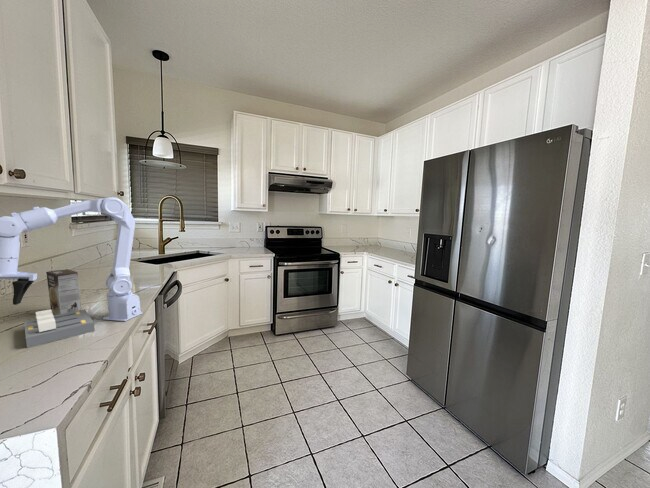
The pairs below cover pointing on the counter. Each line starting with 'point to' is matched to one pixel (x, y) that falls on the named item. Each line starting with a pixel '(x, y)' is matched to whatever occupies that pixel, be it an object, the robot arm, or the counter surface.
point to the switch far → (43, 313)
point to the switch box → (59, 328)
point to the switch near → (46, 325)
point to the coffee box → (63, 291)
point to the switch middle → (44, 317)
